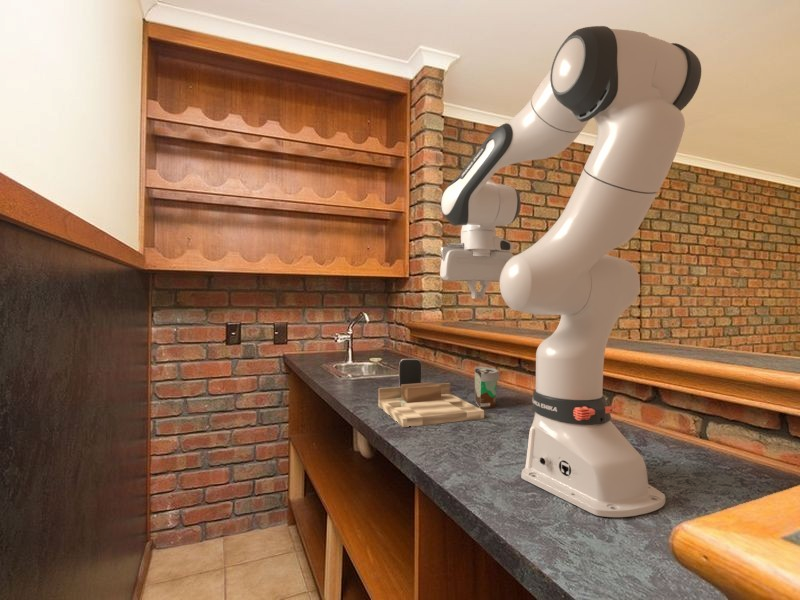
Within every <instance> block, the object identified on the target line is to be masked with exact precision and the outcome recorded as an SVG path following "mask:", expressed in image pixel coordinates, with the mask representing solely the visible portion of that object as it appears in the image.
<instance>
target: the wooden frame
mask: <svg viewBox="0 0 800 600" xmlns="http://www.w3.org/2000/svg"><path fill="white" fill-rule="evenodd" d="M437 384H438V385H441V400H436V401H425V402H414V403H407V402H405V401H404V400H402V399H401V387H399V386H391V387H379V388H378V389H377V390H378V391H377V392H378V402H377V403H378V405H377V406H378V407H379V408H380V409H381V410H382V409H383V410H382V411H384V412H385V413H386V414H387V415H388V416H389V415H390V416H391V417H390V416H389V417H390V418H392V419H393V420H394V421H395V422H396V421H397V422H398V423H397V422H396V423H397V424H398V425H400V426H401V427H402V428H408V427H409V426H411V427H419V426H427V425H438V424H445V423H446V424H448V423H453V422H454V423H455V422H463V421H464V422H465V421H473V420H480V419H481V420H482V419H485V409H480V408H479V407H478V406H476V405H474V404H472V403H470V402H469V401H466V400H464V399H462V398H460V397H458V396H456V395H454V394H451V383H450V382H445V383H444V382H441V383H437ZM409 428H410V427H409Z"/></svg>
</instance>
